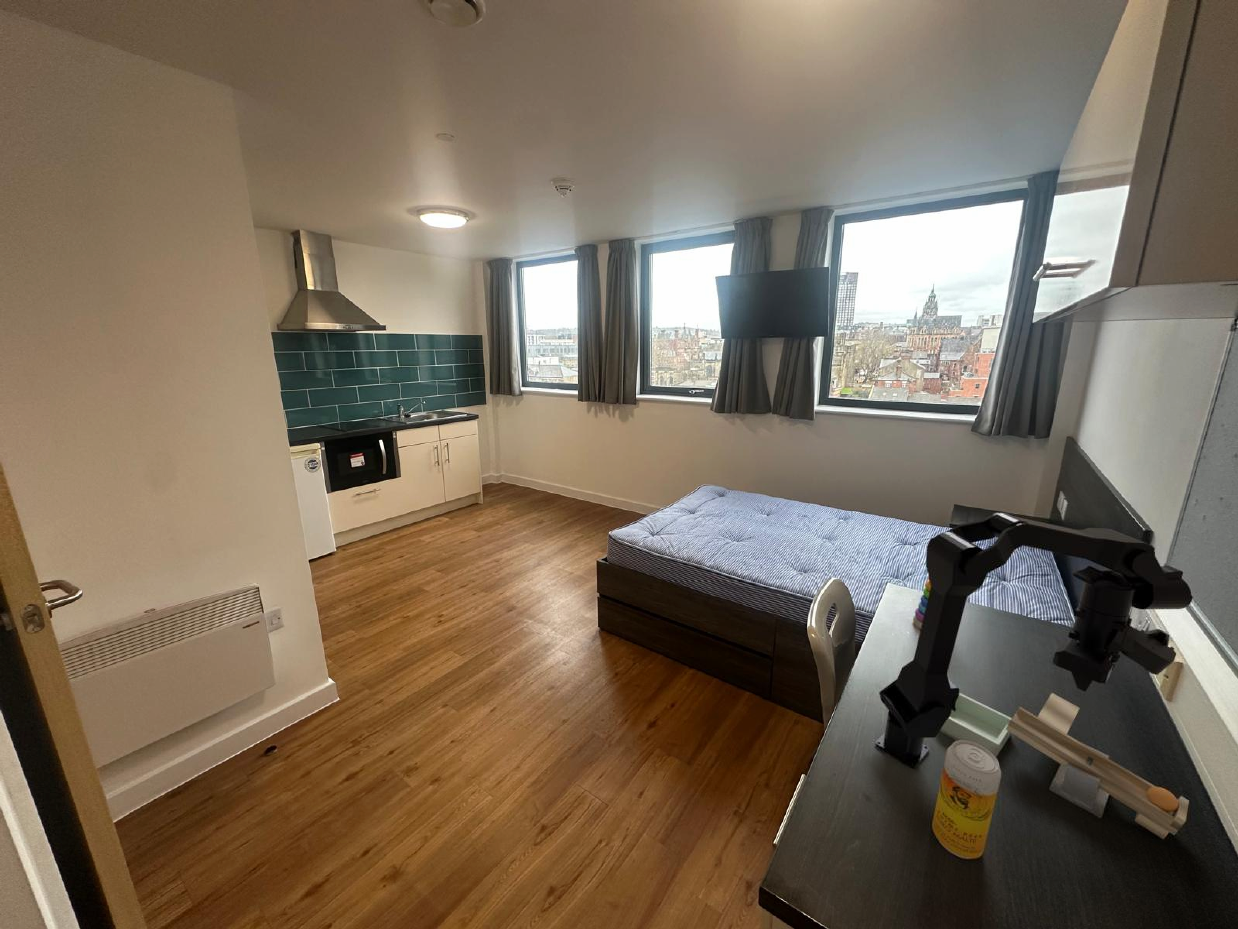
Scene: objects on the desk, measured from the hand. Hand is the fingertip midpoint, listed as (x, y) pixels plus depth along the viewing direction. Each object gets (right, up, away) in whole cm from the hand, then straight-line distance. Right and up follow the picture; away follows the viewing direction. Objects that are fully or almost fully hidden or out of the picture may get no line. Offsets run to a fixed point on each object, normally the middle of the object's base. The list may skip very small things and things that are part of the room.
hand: (1081, 689), depth 82 cm
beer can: (-30, -16, -12) cm, 37 cm away
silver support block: (-5, -14, -5) cm, 15 cm away
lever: (-1, -11, -2) cm, 11 cm away
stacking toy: (0, -3, +39) cm, 39 cm away
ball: (0, -10, -12) cm, 16 cm away
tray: (-14, -11, +7) cm, 19 cm away
